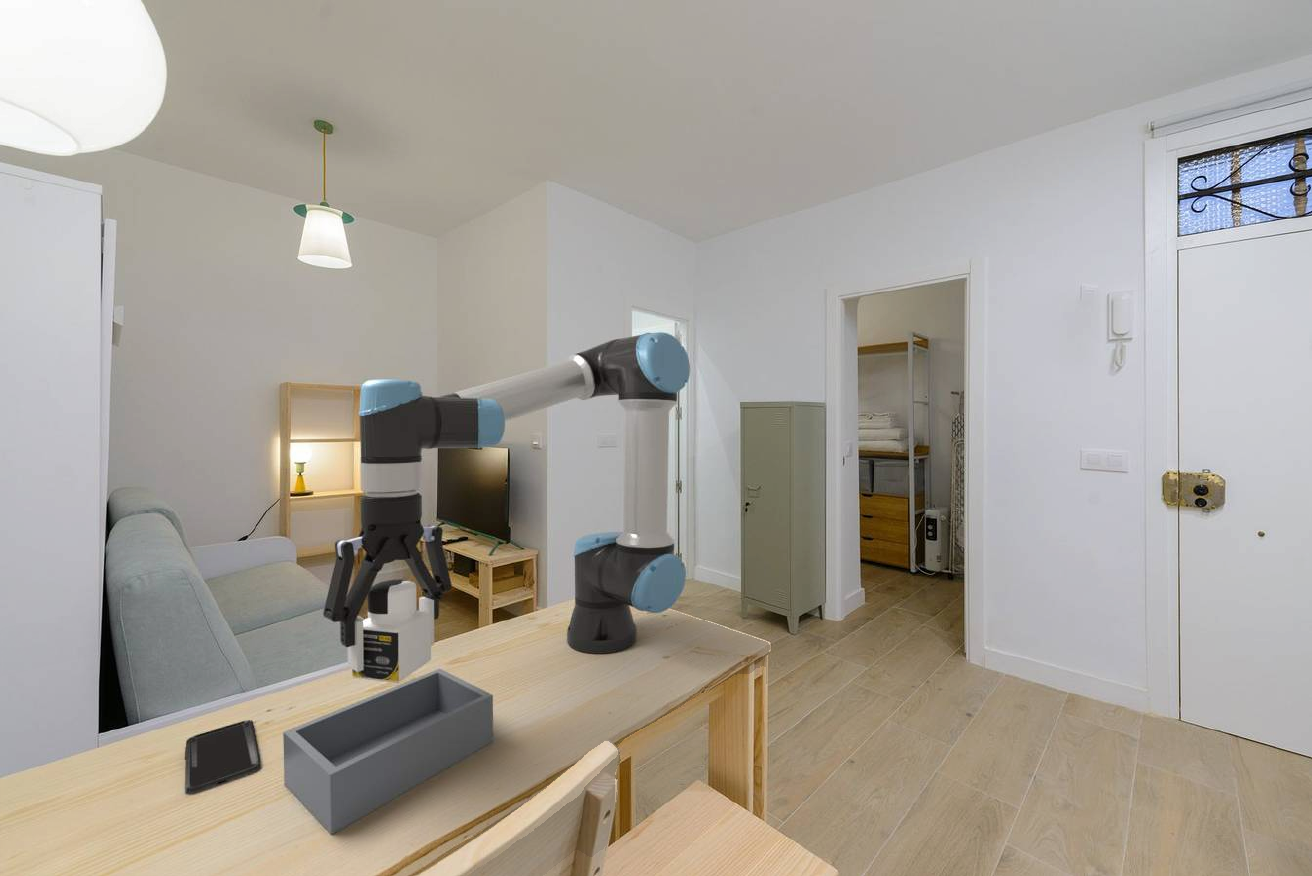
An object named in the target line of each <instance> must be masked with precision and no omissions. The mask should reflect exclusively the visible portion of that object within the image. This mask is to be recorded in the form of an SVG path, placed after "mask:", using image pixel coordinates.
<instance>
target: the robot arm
mask: <svg viewBox="0 0 1312 876" xmlns="http://www.w3.org/2000/svg"><path fill="white" fill-rule="evenodd" d="M690 373H691V363H690V358H689V355H688V352H687V350H686V349H685V346H683V345H682V343H681V341H680V340H679V339H678V338H677V337H675V336H674V335H672V334H670V333H669V332H668V333H667V332H662V331H661V332H645V333H643V334H639V335H633V336H629V337H623V338H617V339H613V340H609V341H607V342H604V343H601V344H599V345H597V346H594V347H591V348H589V349H586V350H584V351H581V352H578V353H574V354H570V355H568V356H567V358H566V359H565V361H564V362H560V363H557V364H552V365H550V366H546V367H542V368H538V369H535V370H531V371H528V372H524V373H520V374H517V375H513V376H510V377H507V378H506V377H505V378H502V379H499V380H495V381H491V382H488V383H484V384H482V385H478V386H473V387H470V388H466V389H463V390H459V391H455V392H453V393H448V394H444V395H442V396H441V395H440V396H436V397H435V396H434V397H433V396H428V395H423V392H422V387H421V385H420V383H419V382H417V381H414V380H403V379H384V378H383V379H369V380H367V381H365V382H364V383H362V385H361V388H360V394H359V395H360V398H359V400H360V401H359V412H358V416H359V437H360V439H359V440H360V466H359V467H360V468H359V471H360V472H359V473H360V478H359V479H360V492H363V493H365V495H363V496H362V498H360V524H361V529H360V532H359V534H358V536H357V537H354V538H351V539H347V540H343V539H338V540H336V541H335V543H334V552H335V558H336V559H335V561H334V567H333V571H332V575H331V578H330V579H331V580H330V584H329V588H328V591H327V592H328V593H327V596H326V601H325V605H324V608H323V613H322V614H323V617H324V618H325V619H328V620H330V621H331V622H334V623H337V622H339V625H340V626H339V627H340V633H339V636H340V639H339V640H340V641H339V642H340V643H341V645H342V646H344V647H346V648H347V667H348V668H350V669H353V670H355V671H356V672H359V671H362V670H364V663H363V619H361V618H360V617H358V616H359V614H360V611H361V610H362V608H363V605H364V604H365V601H366V599H367V598H368V593H369V591H370V588H371V587H372V586H373V584H374V582H375V580H376V578H377V576H378V573H379V572H380V571H381V570H382V569H383V567H384V564H389V563H393V562H394V561H403V560H404V561H405V563H406V564H407V566H408V568H409V569H410V572H412V575H413V577H414V579H415V580H416V582H417V583H418V585H419V587H420V588H421V591H422V593H423V594H424V595H425V596H421V597H419V598H418V611H426V612H430V613H431V647H432V646H434V645H435V620H437V619H439V615H440V603H439V602H440V600H442V598H444V593H445V592H448V591H450V590H451V589H452V586H453V585H452V582H451V576H450V572H449V568H448V563H447V559H446V555H445V552H444V547H443V543H442V542H443V528H442V527H440V526H437V525H432V524H429V525H428V526H423V524H422V522H421V521H422V520H421V519H422V517H423V503H422V501H423V497H422V495H421V493H419V492H418V491H420V490H422V488H423V482H422V481H423V479H422V478H423V477H422V475H423V473H422V472H423V471H422V459H423V458H422V457H423V456H422V449H426V450H429V449H431V450H432V449H470V448H477V449H481V448H488V447H495V446H497V445H498V444H500V442H501V441H502V440H503V437H504V435H505V434H504V433H505V429H506V421H511V420H513V419H516V418H519V417H522V416H525V415H528V414H532V413H534V412H538V411H541V410H544V409H546V408H549V407H552V406H556V405H558V404H561V403H565V402H569V401H571V400H574V399H578V400H580V401H586V400H589V399H592V398H596V397H603V396H615V395H616V396H618V403H619V404H620V406H621V407H622V408H623V409H624V411H625V439H624V440H625V443H624V444H625V447H624V450H625V451H624V452H625V453H624V490H623V491H624V500H623V501H624V505H623V506H624V508H623V516H624V517H623V531H607V532H600V533H599V532H598V533H593V534H592V533H591V534H586V535H583V536H580V537H578V538H577V540H576V541H575V547H574V554H573V557H574V596H575V597H574V608H573V610H572V614H571V618H570V621H569V622H570V623H569V625H568V627H567V631H566V643H567V644H568V646H569V647H570V648H572V649H573V650H575V651H578V652H582V653H587V654H610V653H616V652H620V651H623V650H626V649H627V648H628V649H629V648H630V647H631V646H633V645H634V644H635V643H636V641H637V637H638V635H637V634H638V633H637V632H638V630H637V625H636V623H635V621H634V618H633V617H634V616H633V614H632V610H631V607H632V608H634V609H636V610H637V611H640V612H647V613H650V614H661V613H663V612H665V611H667V610H668V609H670V608H671V607H672V606H673V605H674V604H675V603H676V602H677V600H678V599H680V596H681V594H682V593H683V590H684V588H685V584H686V580H687V570H686V569H687V568H686V566H685V563H684V562H683V560H682V558H681V557H680V556H678V555H677V554H675V539H674V538H673V537H672V536H671V535H670V534H669V533H668V529H667V528H668V499H669V498H668V496H669V494H668V492H669V491H668V490H669V485H668V484H669V442H670V441H669V439H670V438H669V437H670V435H669V434H670V433H669V432H670V411H671V410H672V409H673V408H674V407H675V406H676V405H677V404H678V392H680V391H681V390H682V389H684V388H685V387H686V384H687V383H688V382H689V379H690V375H691V374H690ZM421 539H423V541H424V542H425V543H424V544H425V548H426V552H427V553H426V554H427V556H428V560H429V566H430V569H431V572H430V571H429V569H428V567H427V565H426V564H425V562H424V560H423V555H422V553H421V552H420V550H419V547H418V546H417V545H418V544H419V542H420V541H421ZM360 548H362V549H363V550H364V552H365V554H364V555H363V557H362V560H361V563H360V567H359V570H358V572H357V575H356V576H355V579H354V580H353V582H352V585H351V586H350V583H351V578H352V574H353V570H354V565H355V557H356V556H357V555H358V554H359V549H360ZM431 573H432V575H431ZM349 587H350V589H349Z"/></svg>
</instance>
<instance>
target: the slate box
mask: <svg viewBox="0 0 1312 876" xmlns="http://www.w3.org/2000/svg"><path fill="white" fill-rule="evenodd" d="M282 735H283V737H282V739H283V778H284V779H283V780H284V786H285V787H286V789H288V790H289V791H290V792H291V794H292V795H293V796H294V797H295V798H296V799H297V800H298V802H300V803H301V804H302V806H303V807H304V808H305V809H306V810H307V811H308V812H309V813H310V814H311V815H312V816H313V817H314V818H315V819H316V820H317V822H318V823H319V824H320V825H321V826H322V827H323V828H324V829H325V830H326V831H327V832H328V833H329V834H330V835H331V836H332V835H334V834H335V833H337V832H339V831H341V830H342V829H344V828H345V827H347V826H349V825H351V824H352V823H354V822H356V821H358V820H360V819H361V818H364V817H365V816H367V815H368V814H369V813H371V812H373V811H375V810H376V809H379V808H381V807H382V806H384V805H385V804H387V803H389V802H391V801H393V800H394V799H396V798H397V797H400V796H401V795H403V794H405V793H406V792H408V791H410V790H411V789H413V788H415V787H417V786H419V785H420V784H423V783H424V782H425V781H427V780H429V779H431V778H432V777H434V776H436V775H437V774H440V773H441V772H442V771H444V770H447V769H449V768H450V767H451V766H453V765H455V764H457V763H459V762H460V761H462V760H463V759H466V758H467V757H469V756H470V755H473V754H474V753H476V752H478V751H479V750H481V749H483V748H484V747H487V746H488V745H490V744H492V743H493V742H494V695H493V694H492V693H489V692H487V691H486V690H484V689H481V688H480V687H478V686H475V685H474V684H473V683H472V684H471V683H470V682H468V681H466V680H464V679H461V678H460V677H458V676H455V675H454V674H452V673H449V672H447V671H445V670H444V669H441V668H437V669H436V670H433V671H429V672H427V673H426V674H423V675H420V676H419V677H416V678H413V679H411V680H409V681H406V682H403V683H401V684H398V685H396V686H394V687H391V688H389V689H385V690H384V691H381V692H378V693H376V694H374V695H371V696H369V697H367V698H364V699H362V700H360V701H356V702H354V703H351V704H349V705H346V706H345V707H342V708H341V707H340V708H339V709H337V710H336V709H335V711H331V712H330V713H327V714H324V715H321V716H319V717H317V718H315V719H312V720H310V721H307V722H305V723H302V724H300V725H297V726H295V727H293V728H290V729H287V730H285V731H283V734H282Z"/></svg>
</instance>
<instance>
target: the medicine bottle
mask: <svg viewBox="0 0 1312 876" xmlns="http://www.w3.org/2000/svg"><path fill="white" fill-rule="evenodd" d="M417 596H418V595H417V584H416V583H415V582H413V581H412V580H408V579H398V578H397V579H390V580H384V581H380V582H378V583H376V584H374V585H372V586H371V588H370V591H369V593H368V595H367V618H365V619H364V620H363V619H362V620H363V663H364V670H362V671H359V672H356V671H355V670H353V669H352V668H351V669H352V672H351V673H352V674H351V675H352V678H354V679H361V680H368V681H369V680H370V681H377V682H378V681H379V682H387V683H394V684H398V683H400V682H402V681H403V680H405V679H406V678H407V677H409V676H410V675H412V674H413V673H414V672H416V671H418V670H419V669H420V668H422V667H423V666H424V665H425V664H427V663H429V662H430V661H431V659H432V646H431V613H430V612H426V611H419V610H417V607H418V606H417V604H418V602H417Z"/></svg>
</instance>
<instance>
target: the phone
mask: <svg viewBox="0 0 1312 876" xmlns="http://www.w3.org/2000/svg"><path fill="white" fill-rule="evenodd" d="M184 749H185V750H184V760H185V767H184V768H185V769H184V770H185V771H184V775H185V776H184V793H185V795H188V796H189V795H195V794H199V793H202V792H204V791H206V790H207V791H208V790H209V789H212V788H215V787H218V786H222V785H224V784H226V783H229V782H232V781H235V780H240V779H241V778H244V777H247V776H250V775H252V774H255V773H257V772H258V771H259V770H260V769H261V767H262V761H261V755H260V751H259V744H258V739H257V735H256V730H255V725H254V721H253V720H250V719H247V720H242V721H239V722H236V723H233V724H229V725H226V726H223V727H219V728H215V729H212V730H209V731H204V732H203V733H202V732H201V733H198V734H195V735H192V736H190V737H189V738H187V740H186V741H185V748H184ZM220 782H221V783H220Z"/></svg>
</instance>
